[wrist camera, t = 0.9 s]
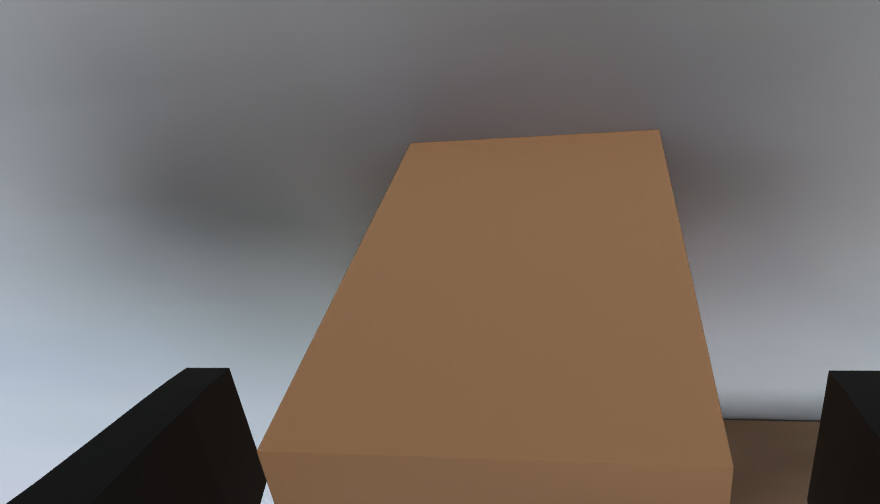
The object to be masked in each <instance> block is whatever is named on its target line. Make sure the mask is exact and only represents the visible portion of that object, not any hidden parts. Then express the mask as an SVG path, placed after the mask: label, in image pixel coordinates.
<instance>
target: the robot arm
mask: <svg viewBox="0 0 880 504" xmlns="http://www.w3.org/2000/svg"><path fill="white" fill-rule="evenodd" d="M266 482H267V480H266V477H265V474H264V471H263V468H262V465H261V462H260V460H259V457H258V454H257V449H256V446H255V443H254V440H253V437H252V434H251V431H250V428H249V425H248V422H247V419H246V416H245V413H244V410H243V408H242V405H241V402H240V399H239V396H238V393H237V390H236V387H235V384H234V381H233V378H232V375H231V372H230V369H229V368H186V369H184V370H183V371H181V372H180V373H178V374H177V375H176V376H174V377H173V378H171V379H170V380H168V381H167V382H166V383H164V384H163V385H162V386H160V387H159V388H158V389H156V390H155V391H154V392H152V393H151V394H150V395H148V396H147V397H146V398H144V399H143V400H142V401H140V402H139V403H138V404H136V405H135V406H134V407H133V408H131V409H130V410H129V411H127V412H126V413H125V414H124V415H122V416H121V417H120V418H118V419H117V420H116V421H115V422H113V423H112V424H111V425H109V426H108V427H107V428H106V429H104V430H103V431H102V432H101V433H99V434H98V435H97V436H95V437H94V438H93V439H91V440H90V441H89V442H88V443H86V444H85V445H84V446H82V447H81V448H80V449H78V450H77V451H76V452H75V453H73V454H72V455H71V456H69V457H68V458H67V459H66V460H64V461H63V462H62V463H60V464H59V465H58V466H56V467H55V468H54V469H53V470H51V471H50V472H49V473H47V474H46V475H45V476H43V477H42V478H41V479H40V480H38V481H37V482H36V483H34V484H33V485H31V486H30V487H29V488H27V489H26V490H25V491H23V492H22V493H20V494H19V495H18V496H16V497H15V498H13V499H12V500H11V501H9V502H8V503H7V504H260V503H261V499H262V496H263V492H264V489H265V485H266ZM807 502H808V504H880V371H829V374H828V379H827V385H826V391H825V397H824V403H823V409H822V414H821V420H820V426H819V432H818V438H817V444H816V449H815V455H814V461H813V467H812V473H811V479H810V484H809V490H808V496H807Z"/></svg>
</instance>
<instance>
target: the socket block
mask: <svg viewBox="0 0 880 504" xmlns="http://www.w3.org/2000/svg"><path fill="white" fill-rule="evenodd" d="M723 422H724V426H725V431H726V435H727V440H728V444H729V449H730V453H731V458H732V462H733V478H732V488H731V498H730V504H808V502H807V496H808V490H809V484H810V479H811V473H812V467H813V461H814V455H815V449H816V444H817V438H818V432H819V426H820V422H807V421H758V420H723Z"/></svg>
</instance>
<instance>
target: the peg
mask: <svg viewBox="0 0 880 504" xmlns="http://www.w3.org/2000/svg"><path fill="white" fill-rule="evenodd" d="M257 454H258V457H259V460H260V462H261V465H262V468H263V471H264V474H265V477H266V480H267V483H268V486H269V489H270V492H271V495H272V498H273V501H274V504H730V498H731V488H732V478H733V462H732V458H731V453H730V449H729V444H728V440H727V435H726V431H725V426H724V422H723V417H722V412H721V408H720V403H719V399H718V394H717V390H716V385H715V381H714V376H713V372H712V367H711V363H710V358H709V353H708V349H707V344H706V340H705V335H704V331H703V326H702V322H701V317H700V313H699V308H698V304H697V299H696V294H695V290H694V285H693V281H692V276H691V272H690V267H689V263H688V258H687V254H686V249H685V245H684V240H683V235H682V231H681V226H680V222H679V217H678V213H677V208H676V204H675V199H674V195H673V190H672V186H671V181H670V176H669V172H668V167H667V163H666V158H665V154H664V149H663V145H662V140H661V136H660V131H659V130H641V131H623V132H604V133H586V134H568V135H550V136H532V137H513V138H495V139H477V140H459V141H440V142H422V143H411V144H410V146H409V148H408V150H407V152H406V154H405V156H404V158H403V160H402V162H401V164H400V166H399V168H398V170H397V172H396V174H395V176H394V178H393V180H392V182H391V184H390V186H389V188H388V190H387V192H386V194H385V196H384V198H383V200H382V202H381V204H380V206H379V208H378V210H377V212H376V214H375V216H374V218H373V220H372V222H371V224H370V226H369V228H368V230H367V232H366V234H365V236H364V238H363V240H362V242H361V244H360V246H359V248H358V250H357V252H356V254H355V256H354V258H353V260H352V262H351V264H350V266H349V268H348V270H347V272H346V274H345V276H344V278H343V280H342V282H341V284H340V286H339V288H338V290H337V292H336V294H335V296H334V298H333V300H332V302H331V304H330V306H329V308H328V310H327V312H326V314H325V316H324V318H323V320H322V322H321V324H320V326H319V328H318V330H317V332H316V334H315V336H314V338H313V340H312V342H311V344H310V346H309V348H308V350H307V352H306V354H305V356H304V358H303V360H302V362H301V364H300V366H299V368H298V370H297V372H296V374H295V376H294V378H293V380H292V382H291V384H290V386H289V388H288V390H287V392H286V394H285V396H284V398H283V400H282V402H281V404H280V406H279V408H278V410H277V412H276V414H275V416H274V418H273V420H272V422H271V424H270V426H269V428H268V430H267V432H266V434H265V436H264V438H263V440H262V442H261V444H260V446H259V448H258V450H257Z"/></svg>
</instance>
